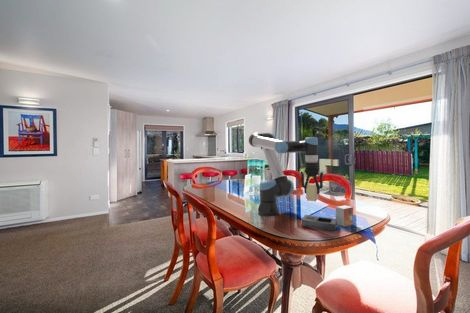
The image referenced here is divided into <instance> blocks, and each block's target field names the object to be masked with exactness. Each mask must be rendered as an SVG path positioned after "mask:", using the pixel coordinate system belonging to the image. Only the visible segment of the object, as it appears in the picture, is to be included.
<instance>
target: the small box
mask: <svg viewBox="0 0 470 313" xmlns="http://www.w3.org/2000/svg"><path fill="white" fill-rule="evenodd" d="M335 219H337V226H340V227H344V228H345V227H349V226H353V225H354V207H353V206H350V205H349V206H348V205H346V204H344V205H339V206H335Z"/></svg>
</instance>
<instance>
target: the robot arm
mask: <svg viewBox="0 0 470 313" xmlns="http://www.w3.org/2000/svg"><path fill="white" fill-rule="evenodd" d="M318 141H319V140H318V137H316V136H310V137H308V136H307V137H305V138H304V140H294V141H293V140H281V139H280V140H279V139H276V137H275V134H273V133H271V132H270V133H269V132H253V133H252V134H250V135H249V138H248V144H249V145H250V146H251V147H253V148H260V149H261V151H262V152H263V153H264V155H265V158H266V161H267V164H268V167H269V169H270V173H271V177H272V179H264V180H261V181H260V183H259V205H258V209H257V214H258V213H259V214H258V215H260V216H265V217H274V216H278V215H279V214H280V208H279V206H278V203H277V198H280V197H287V196H291V194H292V193H293V192H294V188H295V187H294V182H293V181H292V180H291V179H288V176H287V175H286V174H284V171H283V169H282V165H281V163H280V160H279V158H278V155H277V153H278V154H288V153H290V154H292V153H304V156H305V158H304V161H305V162H304V163H305V167H304V170H302V171H300V172H299V174H300V176H301V177H300V178H301V180H300V182H301V183H300V184H301V185H300V186H301V188H303V189H304V191H303V192H304V194H305V198H306V200H307V184H308V183H309V182H310V179H311V177H312V178H313V180H314V182H315V183H314V184H316V187H317V189H316V201H317V200H318V199H319V195H320V194H321V193H320V189H321V190H322V189H323V187H324V186H323V182H324V180H323V178H324V177H323V175H324V171H320V170H319V162H318V161H319V142H318ZM305 174H306V180H305ZM318 175H319V181H318Z"/></svg>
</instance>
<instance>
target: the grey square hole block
mask: <svg viewBox="0 0 470 313" xmlns="http://www.w3.org/2000/svg"><path fill="white" fill-rule="evenodd" d="M300 222H301V224H300V225H301V227H304V228H309V229H316V230H323V231H328V232H335V233H336V230H337V228H338V225H337V219H336V218H331V217H324V216H317V215H309V214H304V215H303V217H302V218H301V221H300Z"/></svg>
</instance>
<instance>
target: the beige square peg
mask: <svg viewBox="0 0 470 313" xmlns="http://www.w3.org/2000/svg"><path fill="white" fill-rule="evenodd" d="M316 189H317V187H316V183H309V182H308V184H307V199H306V201H309V202H316V201H317V200H316Z"/></svg>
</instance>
